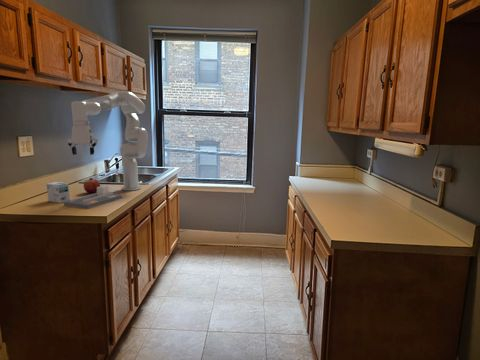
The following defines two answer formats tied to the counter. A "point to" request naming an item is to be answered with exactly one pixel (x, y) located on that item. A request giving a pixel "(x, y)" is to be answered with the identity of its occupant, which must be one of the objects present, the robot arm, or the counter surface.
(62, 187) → the light bulb box
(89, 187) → the fruit
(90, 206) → the switch board
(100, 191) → the switch tab
